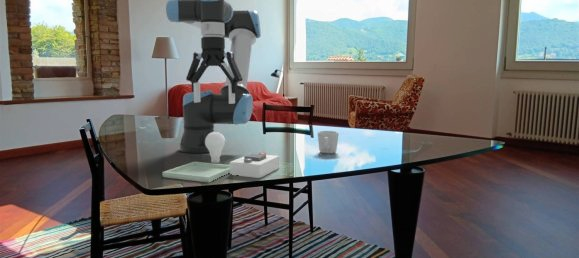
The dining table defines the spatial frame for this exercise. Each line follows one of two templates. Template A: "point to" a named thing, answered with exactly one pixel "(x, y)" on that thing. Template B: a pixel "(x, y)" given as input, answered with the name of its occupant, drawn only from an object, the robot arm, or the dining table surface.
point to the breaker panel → (254, 166)
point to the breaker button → (255, 157)
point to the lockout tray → (198, 171)
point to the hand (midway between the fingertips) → (214, 103)
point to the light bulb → (215, 145)
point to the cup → (327, 141)
